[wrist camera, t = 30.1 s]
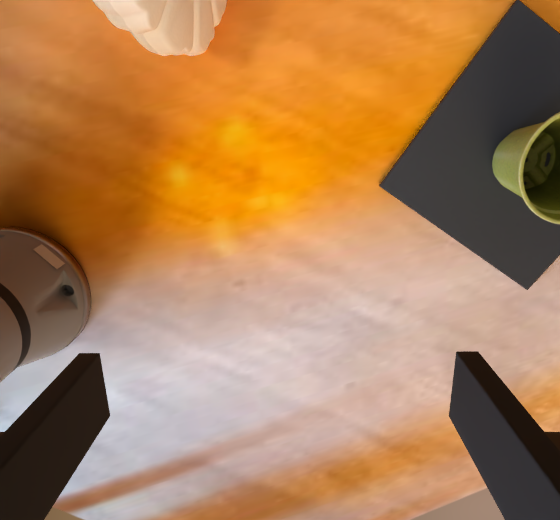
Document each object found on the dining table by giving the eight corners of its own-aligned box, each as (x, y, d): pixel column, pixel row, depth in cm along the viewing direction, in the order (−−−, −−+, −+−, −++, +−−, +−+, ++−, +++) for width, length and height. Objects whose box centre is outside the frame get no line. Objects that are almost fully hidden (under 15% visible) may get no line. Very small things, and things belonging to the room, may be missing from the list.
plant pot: (580, 106, 40) (654, 100, 32) (564, 205, 43) (629, 223, 35) (479, 110, 41) (527, 106, 32) (470, 208, 43) (512, 227, 35)
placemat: (524, 288, 46) (527, 290, 46) (378, 185, 44) (379, 186, 43) (670, 129, 41) (675, 129, 40) (514, 1, 38) (518, -1, 38)
